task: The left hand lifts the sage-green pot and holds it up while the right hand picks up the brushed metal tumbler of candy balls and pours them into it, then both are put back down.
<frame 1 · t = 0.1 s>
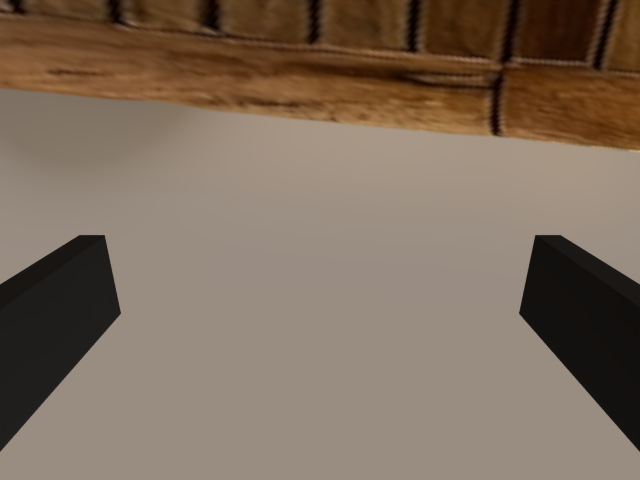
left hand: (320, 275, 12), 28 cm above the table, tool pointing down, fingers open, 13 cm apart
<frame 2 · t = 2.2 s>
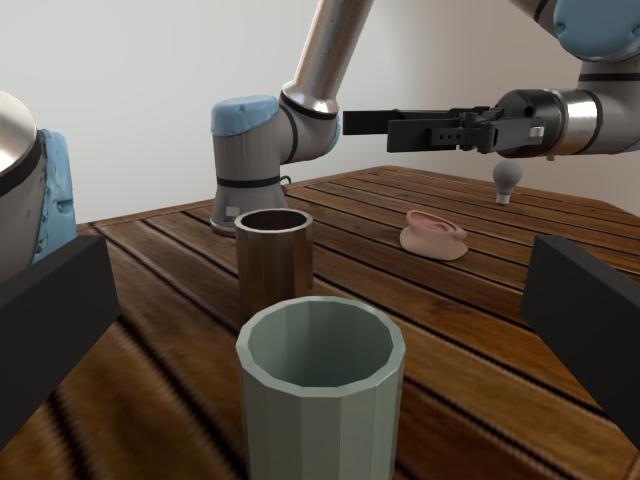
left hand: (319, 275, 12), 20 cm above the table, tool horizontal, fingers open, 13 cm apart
right hand: (362, 128, 41), fingers open, 13 cm apart
tumbler: (278, 317, 47), on the table, 144 candy balls inside
pot: (320, 465, 29), on the table, 0 candy balls inside
anatomical model: (432, 245, 68), on the table
light bulb: (501, 204, 91), on the table
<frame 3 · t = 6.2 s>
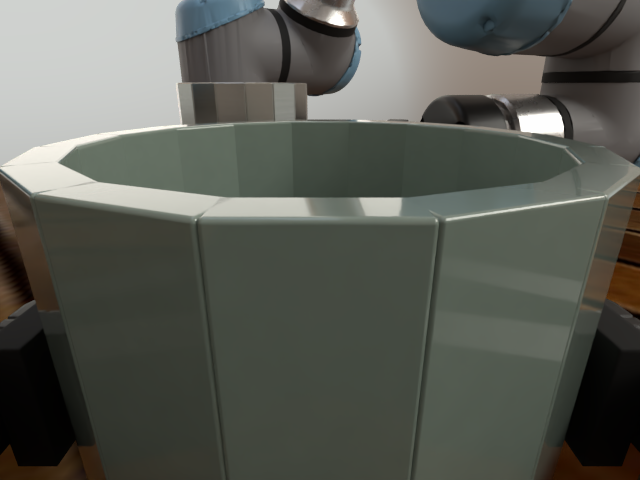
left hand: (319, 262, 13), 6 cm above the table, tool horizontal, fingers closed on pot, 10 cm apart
tumbler: (254, 256, 30), on the table, 144 candy balls inside, touching right hand
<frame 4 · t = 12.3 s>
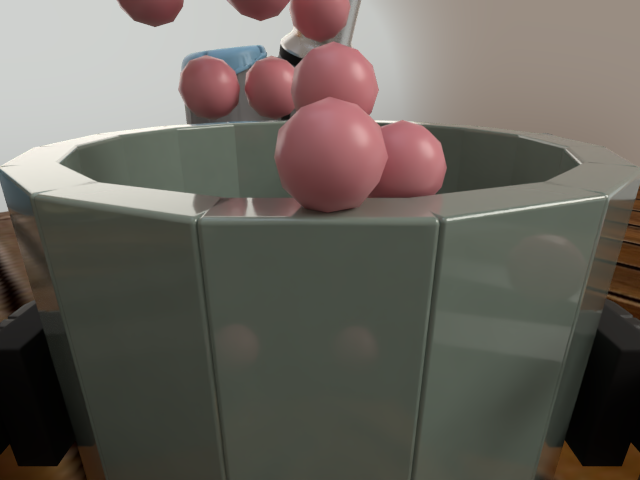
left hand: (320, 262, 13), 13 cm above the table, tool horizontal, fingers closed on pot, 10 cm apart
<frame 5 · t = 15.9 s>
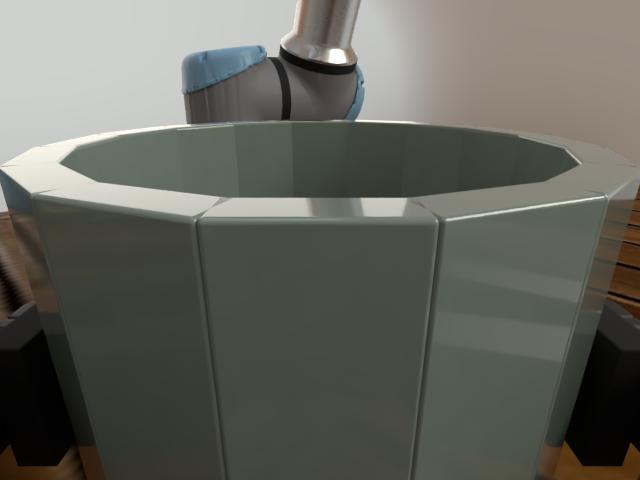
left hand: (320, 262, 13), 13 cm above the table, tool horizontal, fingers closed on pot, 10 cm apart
when the left hand's fingers open (7 cm above the table, at t = 19.0 s): pot stays where it is, on the table.
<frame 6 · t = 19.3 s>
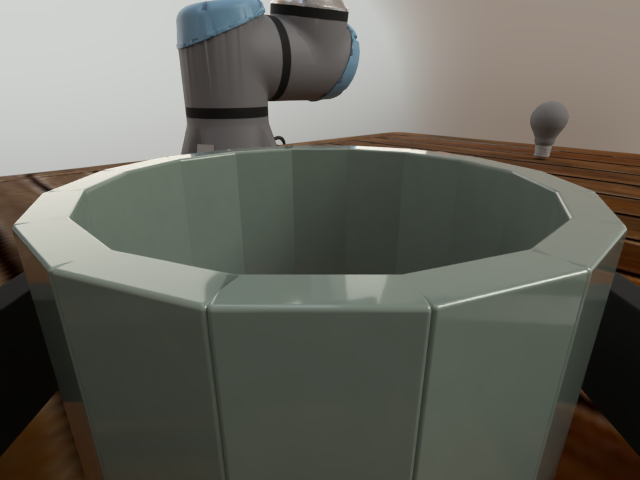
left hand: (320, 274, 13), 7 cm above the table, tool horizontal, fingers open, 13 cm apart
light bulb: (540, 159, 75), on the table
when the right hand's fingers open (8 cm above the table, at t = 23.4 s): tumbler stays where it is, on the table.
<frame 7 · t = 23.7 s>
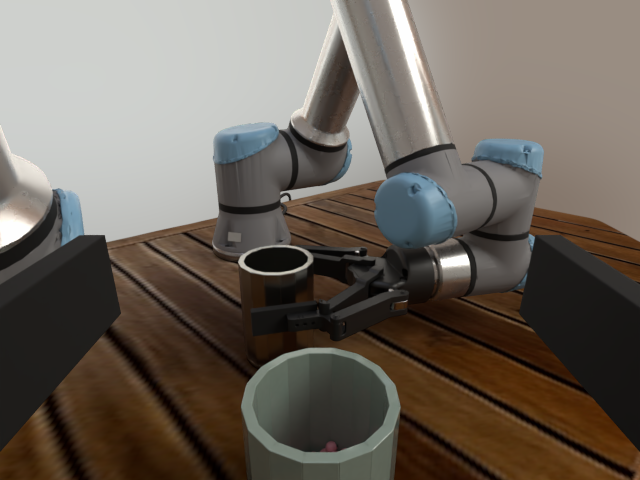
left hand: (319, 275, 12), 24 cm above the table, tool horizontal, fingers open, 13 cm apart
right hand: (246, 292, 45), fingers open, 12 cm apart
tumbler: (280, 350, 49), on the table, 0 candy balls inside
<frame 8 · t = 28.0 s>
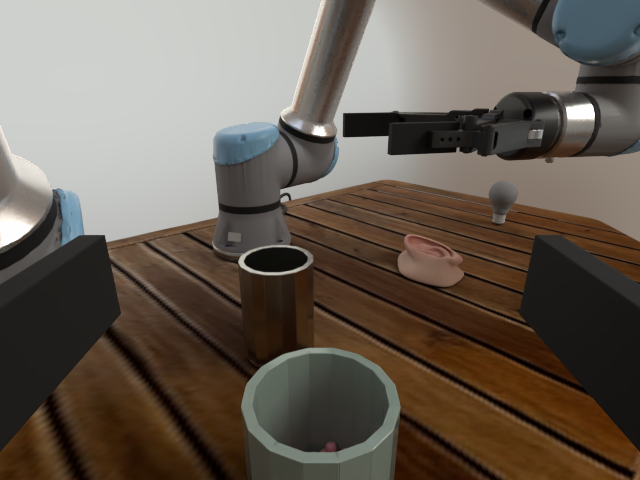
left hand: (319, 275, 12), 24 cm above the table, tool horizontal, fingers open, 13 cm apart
right hand: (363, 131, 41), fingers open, 13 cm apart
tumbler: (280, 350, 49), on the table, 0 candy balls inside
anatomical model: (429, 269, 70), on the table
light bulb: (498, 224, 93), on the table
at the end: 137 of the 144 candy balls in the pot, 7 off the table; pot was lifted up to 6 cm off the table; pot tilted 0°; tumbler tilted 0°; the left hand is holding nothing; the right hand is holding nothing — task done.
